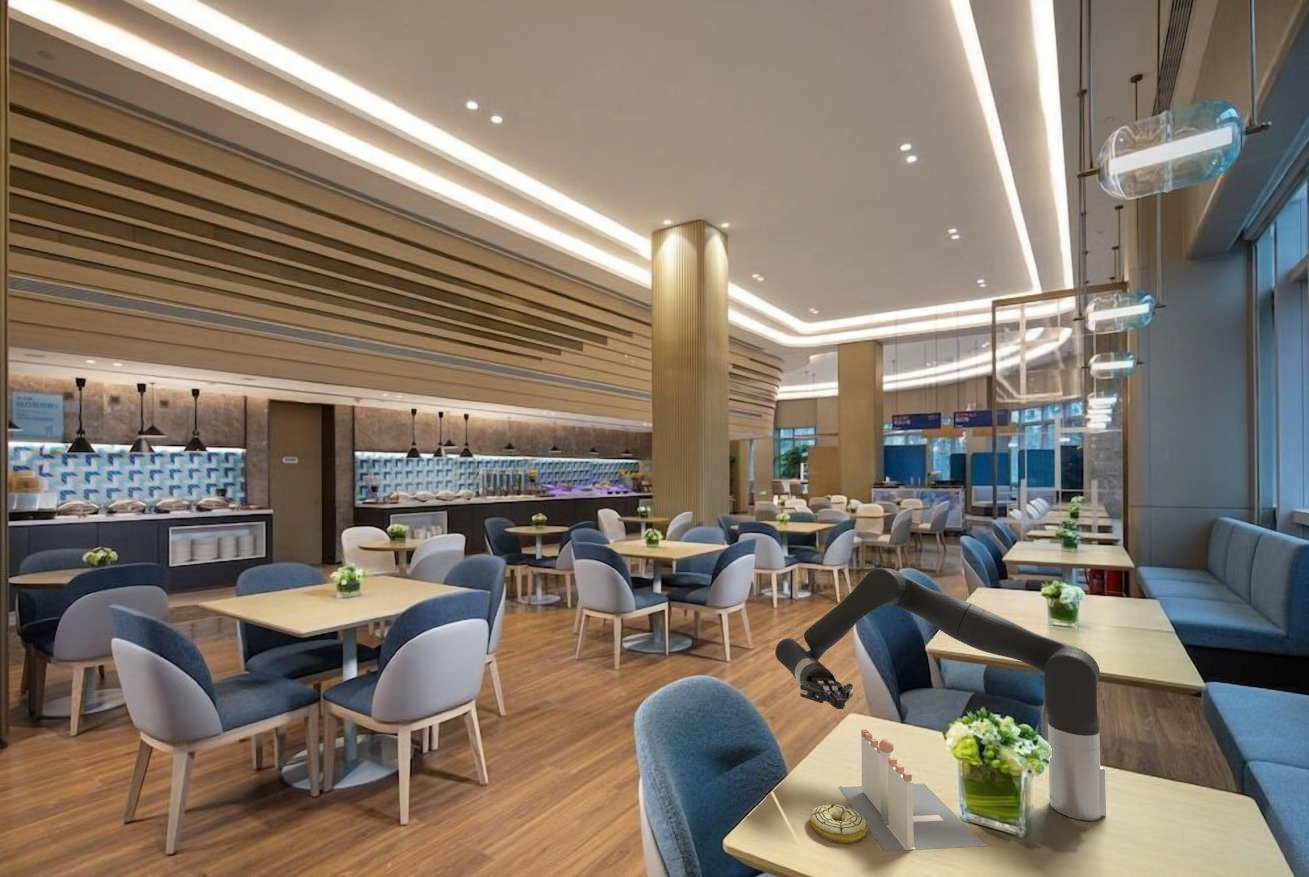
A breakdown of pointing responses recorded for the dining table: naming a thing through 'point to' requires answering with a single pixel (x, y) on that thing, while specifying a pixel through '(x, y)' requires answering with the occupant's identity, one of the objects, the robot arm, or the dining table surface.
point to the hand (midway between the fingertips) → (840, 704)
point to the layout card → (916, 822)
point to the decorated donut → (838, 823)
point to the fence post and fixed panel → (896, 794)
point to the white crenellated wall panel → (871, 769)
